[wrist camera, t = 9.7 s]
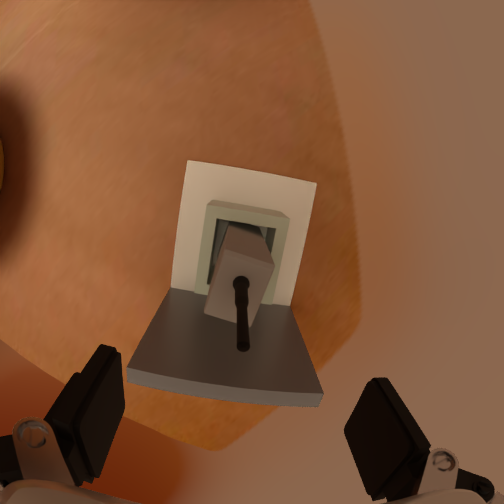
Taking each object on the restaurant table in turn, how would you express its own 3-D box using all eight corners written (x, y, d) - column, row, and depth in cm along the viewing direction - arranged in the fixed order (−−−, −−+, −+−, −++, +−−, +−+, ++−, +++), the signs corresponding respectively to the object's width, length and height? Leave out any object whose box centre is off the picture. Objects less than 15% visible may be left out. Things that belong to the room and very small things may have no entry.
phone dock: (189, 160, 35) (141, 145, 17) (314, 183, 37) (384, 191, 18) (171, 294, 40) (127, 382, 21) (286, 312, 41) (318, 407, 22)
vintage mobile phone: (217, 254, 37) (186, 386, 13) (230, 216, 36) (215, 297, 12) (245, 263, 38) (258, 404, 14) (259, 226, 37) (299, 323, 12)
